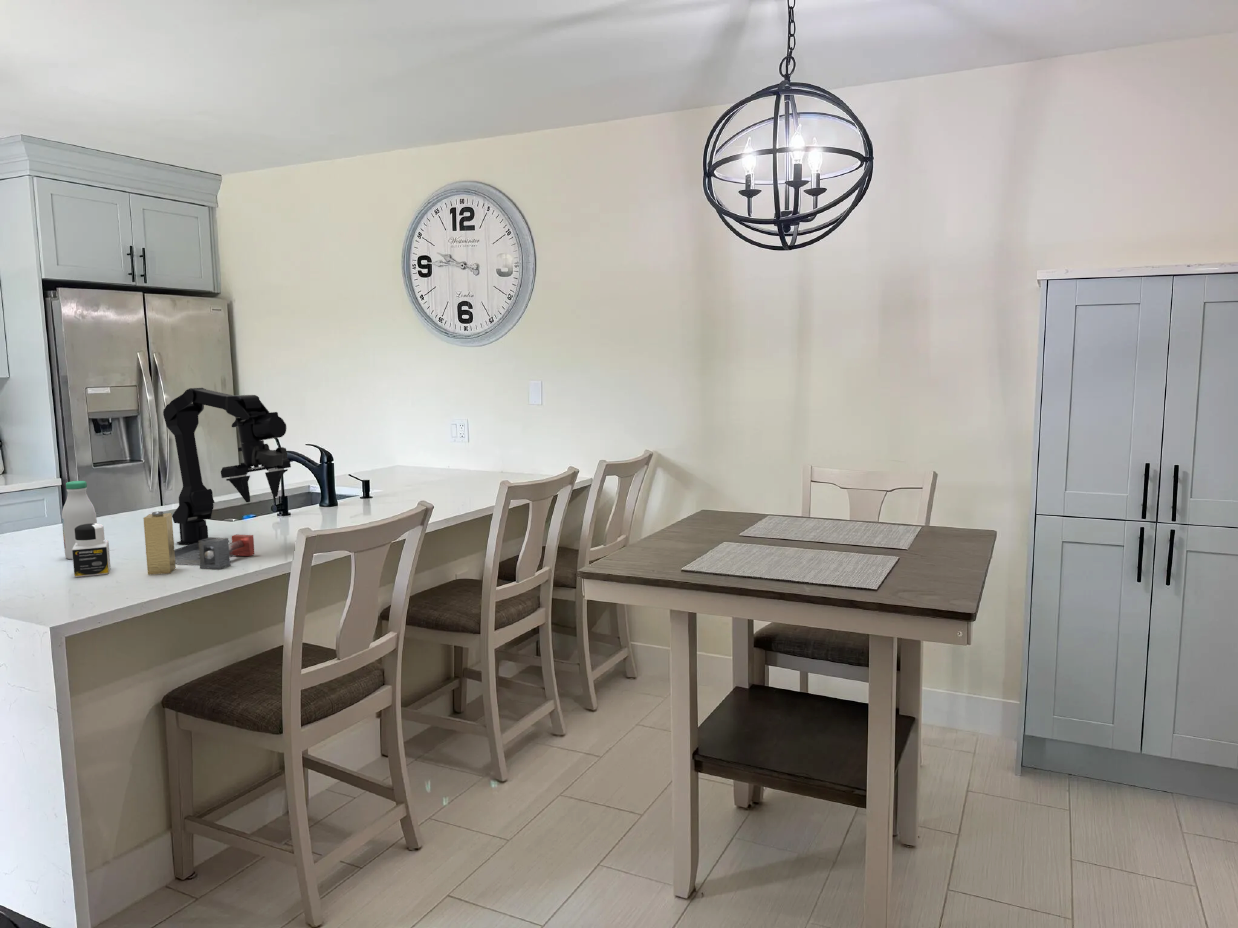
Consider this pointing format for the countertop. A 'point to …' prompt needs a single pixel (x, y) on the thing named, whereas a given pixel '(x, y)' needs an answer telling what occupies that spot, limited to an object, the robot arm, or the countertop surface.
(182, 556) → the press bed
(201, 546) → the block
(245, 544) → the ram handle
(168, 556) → the tan wooden block
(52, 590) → the countertop surface
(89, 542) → the medicine bottle
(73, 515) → the milk bottle
